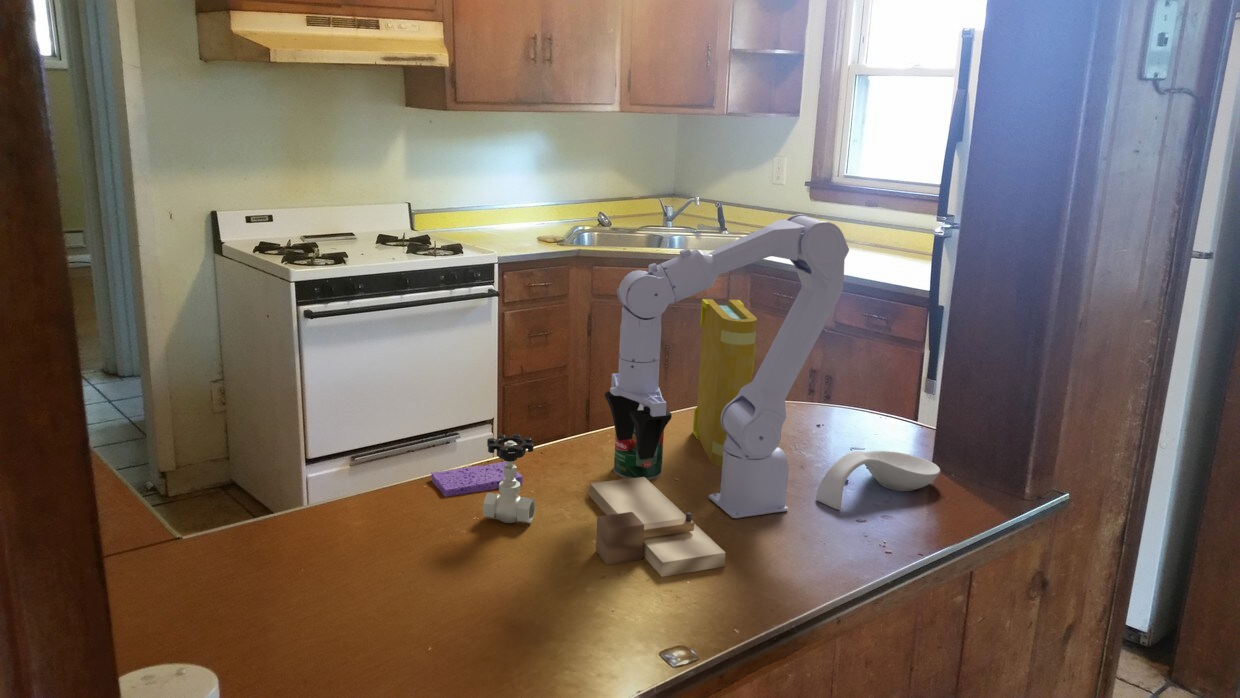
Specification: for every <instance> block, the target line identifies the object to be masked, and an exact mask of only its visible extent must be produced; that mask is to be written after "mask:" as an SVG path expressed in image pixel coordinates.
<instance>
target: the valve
mask: <svg viewBox="0 0 1240 698" xmlns="http://www.w3.org/2000/svg"><path fill="white" fill-rule="evenodd" d="M496 437H497V438H496V439H495V438H493V437H489V438H488V439H487V443H486V446H487V452H488V453H489V454H494V453H495V450H496V455H497V457H498V458H499V459H502V460H503V462H505V461H506V465H504V466H503V475H504V476H505V477H506V478H504V479H503V481H501V482H500V483H499V488H498V491H499V493H500V494H499V493H496V492H487V493H486V495H485V498H484V500H483V504H482V513H483V517H484V518H489V519H496V520H499V521H500V522H502V523H506V524H512V523H516V522H520V523H524V524H525V523H526V524H527V523H528V524H532V522H533V519H534V517H535V513H536V501H535V499H534V498H532V497H527V496H526V497H523V496H520V495H519V493H520V492H521V485H520V482H518V481H516V479H515V478H514V476H516V472H517V466H516V464H515V463H514V462H515V461H517V460H518V459H521V458H523V457H524V456H525V455H526V453H527V452H528V453H532V452H534V443H533V438H532V437H530V436H529V437H524V438H521V434H519V433H514V434H512V435H511V436H506V435H505V434H503V433H499V434H497V436H496ZM502 444H503V445H502ZM518 444H519V445H518Z"/></svg>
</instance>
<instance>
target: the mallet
mask: <svg viewBox="0 0 1240 698" xmlns="http://www.w3.org/2000/svg"><path fill="white" fill-rule="evenodd" d="M685 515H686V518H683V519H676V520H669V521H662V522H654V523H647V524H643V523H642V522H641V521H640V519H639V518H638V517H637V516H636V515H635V514H634V513H633V512H627V513H620V514H612V515H606V514H604V515H599V516H597V518H596V534H595V535H596V537H595V538H596V540H595V552H596V554H598V555H599V557H600V558H601V560H602V561H603V562H604V563H605V565H606V566H609V565H616V564H623V563H628V562H634V561H641V560H643V557H644V556H643V538H648V537H655V536H661V535H668V534H675V533H682V532H689V531H694V524H695V522H694V521H693V520H692V515H693V514H692V512H685Z"/></svg>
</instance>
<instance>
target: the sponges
mask: <svg viewBox="0 0 1240 698" xmlns="http://www.w3.org/2000/svg"><path fill="white" fill-rule="evenodd" d="M504 465H506V461H500V462H494V463H489V464H487V465H486V464H484V465H475V466H468V467H461V468H454V469H448V470H441V471H433V472H430V473H431V475H430V478H431V482H432V484H433V485H434V486H436V488H437V489H438V490H440V492H441V493H442V495H443V496H444V498H445V497H446V498H447V497H452V496H459V495H465V494H470V493H478V492H484V491H489V490H490V491H491V490H497V489H499V483H500V482H501V481H503V479H504V478H506V477H505V476H504V475H503V466H504ZM514 478H515V479H516V481H518V482H520V486H523V483H524V482H523V479H524V476H523V475H522V474H521V473H520V472H519V471H517V470H516V476H514Z"/></svg>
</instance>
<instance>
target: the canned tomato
mask: <svg viewBox="0 0 1240 698" xmlns="http://www.w3.org/2000/svg"><path fill="white" fill-rule="evenodd" d="M643 407H644V406H643V405H641V404H640V405H639V407H638V410H643ZM664 434H665V429H664V430H663V432H662V434H661V437H660V439H659V442H658V445H657V448H656V452H655V455H654V457H653V458H648V459H640V458H639V457H638V453H637V439H636V431H635V427H634V432H633V436H632V439H629V440H620V441H619V440H618V439H617V436H616V433H615V435H614V436H615V437H614V438H615V439H614V457H613V458H614V459H613V460H614V464H613V472H614V473H615V474H616V475H617V476H618V477H620V478H623V479H630V478H639V477H645V478H646V479H647V480H648V481H649V480H650V481H651V480H654V479H656V478H659V477H660V476H661V475H662V472H663V470H662V467H663V455H664V454H663V453H664V437H665V435H664Z"/></svg>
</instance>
